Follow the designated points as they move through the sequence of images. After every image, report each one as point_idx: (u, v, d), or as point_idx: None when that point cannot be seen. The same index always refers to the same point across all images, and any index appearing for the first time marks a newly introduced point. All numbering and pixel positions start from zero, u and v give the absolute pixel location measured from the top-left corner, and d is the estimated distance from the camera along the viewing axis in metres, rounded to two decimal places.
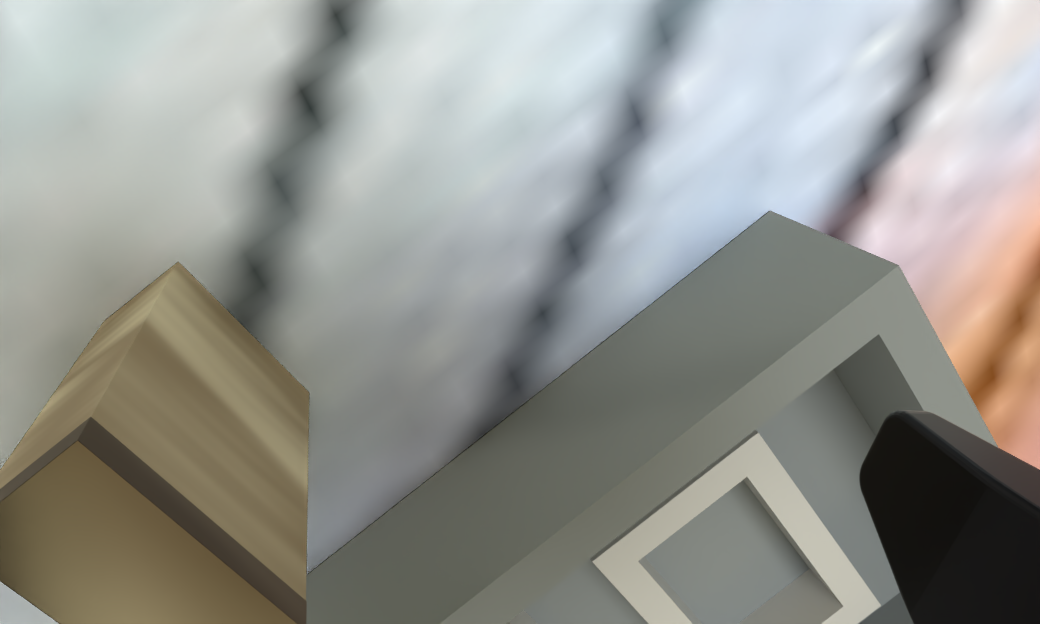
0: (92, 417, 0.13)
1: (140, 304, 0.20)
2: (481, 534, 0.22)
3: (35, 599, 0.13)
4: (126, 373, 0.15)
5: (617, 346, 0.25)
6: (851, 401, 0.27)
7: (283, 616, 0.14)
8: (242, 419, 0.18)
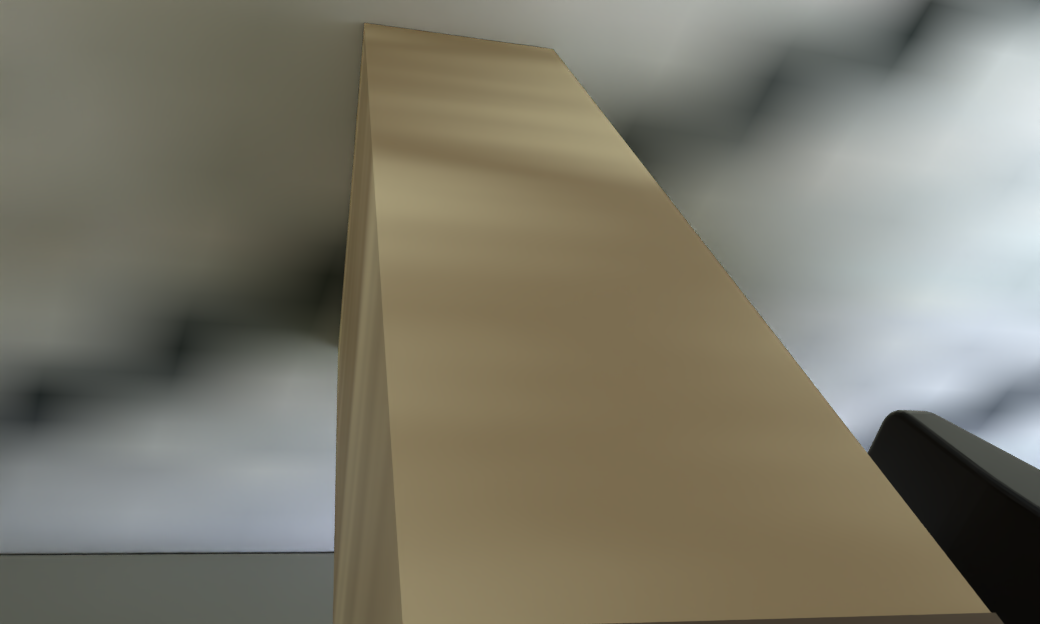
0: (991, 614, 0.04)
1: (522, 86, 0.09)
2: None
3: None
4: (771, 364, 0.05)
5: None
6: None
7: None
8: None
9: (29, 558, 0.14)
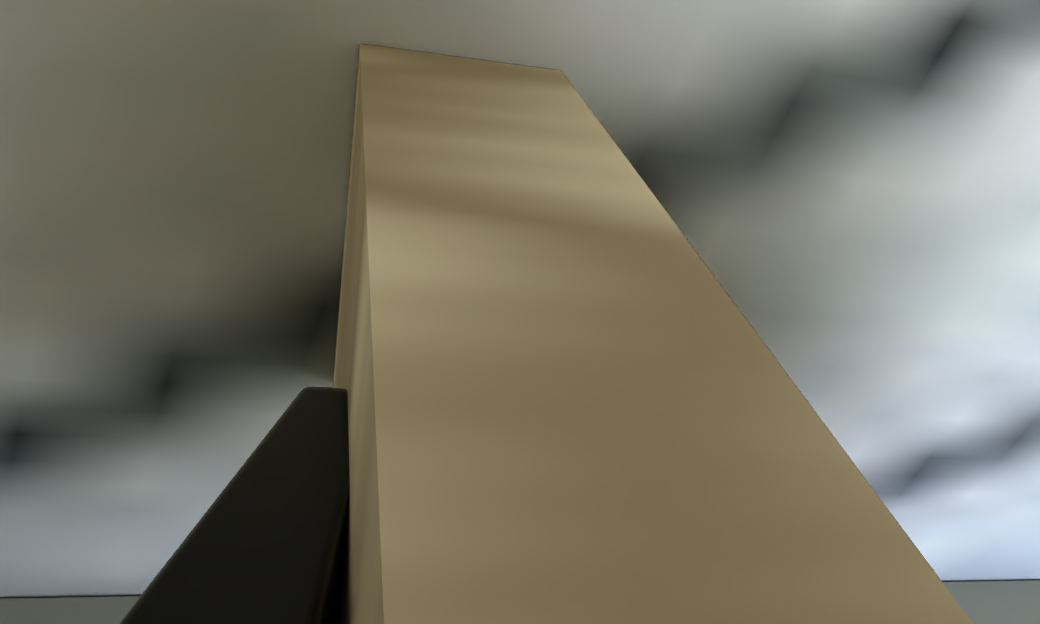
0: None
1: (530, 116, 0.09)
2: None
3: None
4: (822, 461, 0.05)
5: None
6: None
7: None
8: None
9: (8, 601, 0.14)
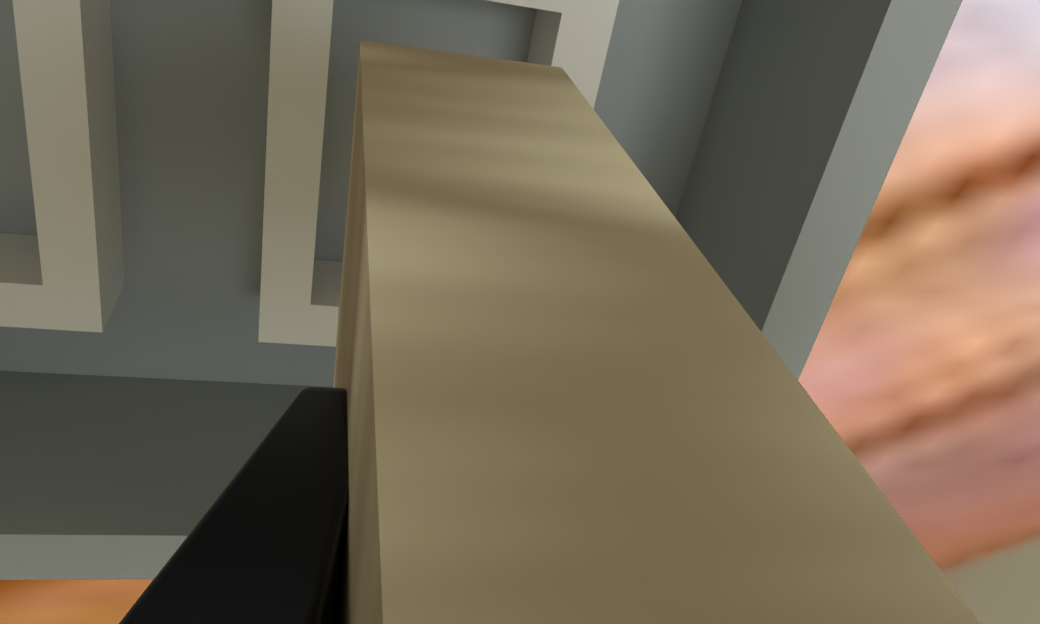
0: None
1: (530, 111, 0.09)
2: None
3: None
4: (823, 453, 0.05)
5: None
6: (705, 111, 0.19)
7: None
8: None
9: None
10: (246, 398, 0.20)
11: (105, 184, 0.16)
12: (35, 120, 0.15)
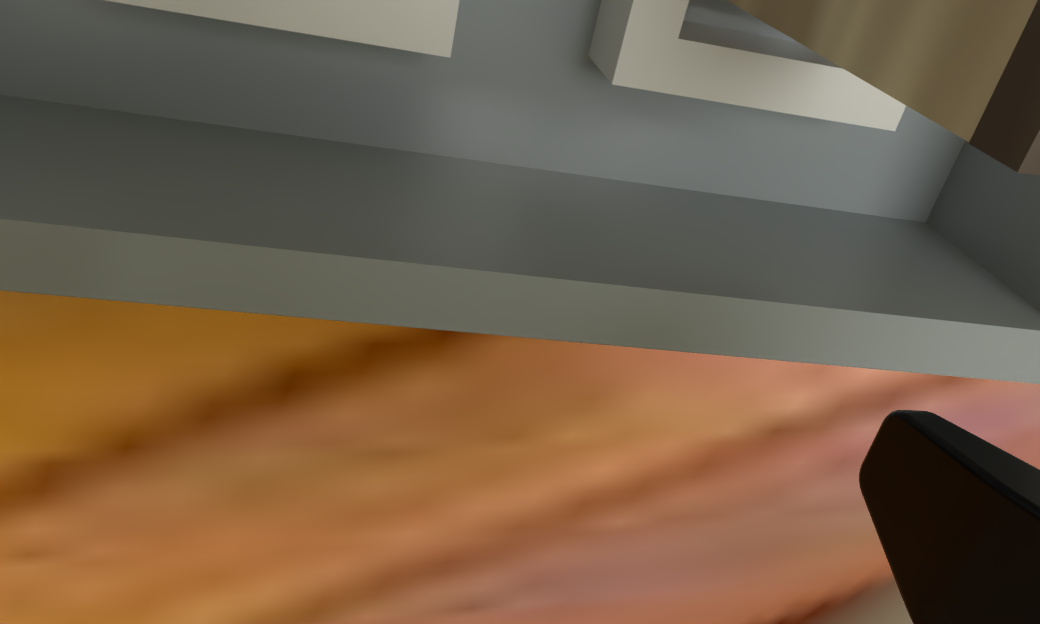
0: None
1: None
2: None
3: None
4: None
5: None
6: None
7: None
8: None
9: None
10: (552, 181, 0.18)
11: None
12: None
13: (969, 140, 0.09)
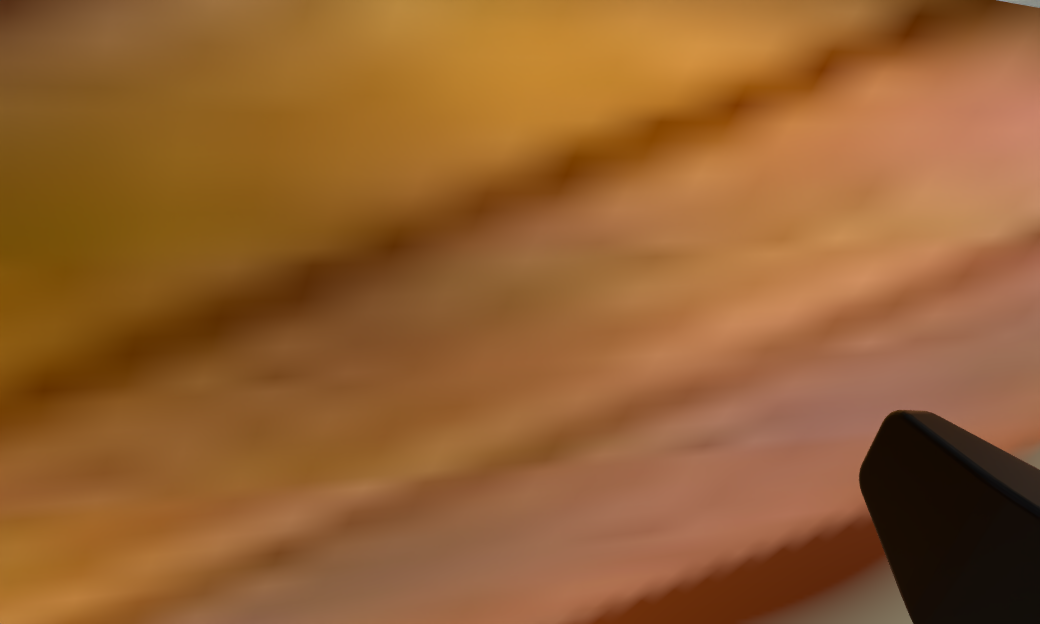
0: None
1: None
2: None
3: None
4: None
5: None
6: None
7: None
8: None
9: None
10: None
11: None
12: None
13: None
